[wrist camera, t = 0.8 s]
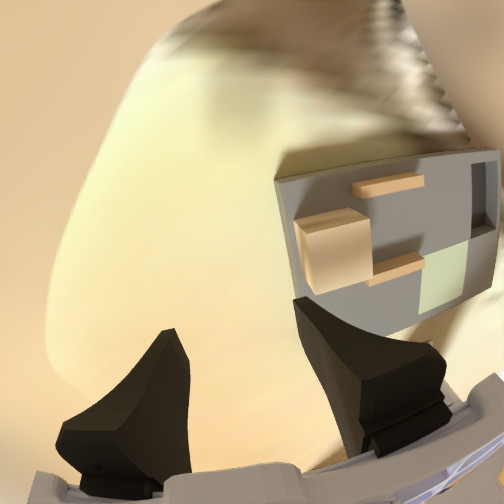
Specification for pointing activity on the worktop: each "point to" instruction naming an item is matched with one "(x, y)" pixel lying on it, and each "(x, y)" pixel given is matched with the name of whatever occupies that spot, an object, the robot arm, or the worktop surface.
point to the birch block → (334, 249)
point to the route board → (405, 232)
